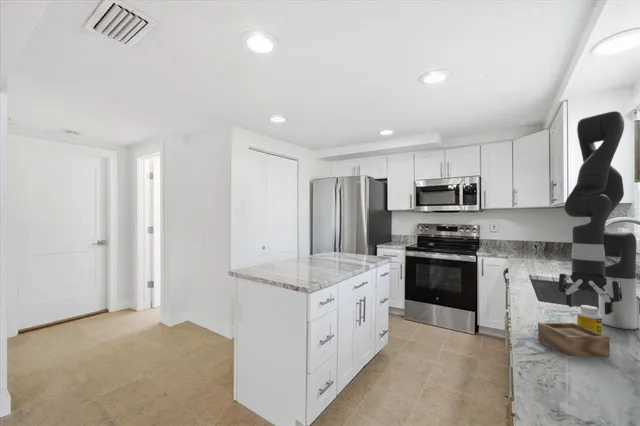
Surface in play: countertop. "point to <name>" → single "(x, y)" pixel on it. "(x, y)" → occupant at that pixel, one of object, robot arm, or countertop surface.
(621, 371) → the countertop surface
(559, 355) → the countertop surface
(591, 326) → the supplement bottle
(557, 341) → the walnut tray
